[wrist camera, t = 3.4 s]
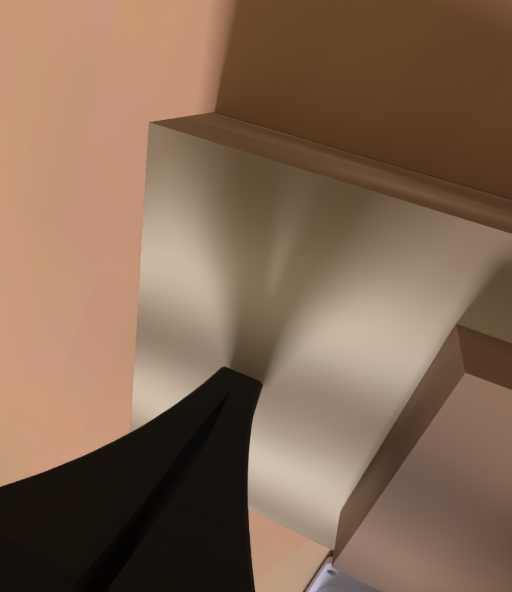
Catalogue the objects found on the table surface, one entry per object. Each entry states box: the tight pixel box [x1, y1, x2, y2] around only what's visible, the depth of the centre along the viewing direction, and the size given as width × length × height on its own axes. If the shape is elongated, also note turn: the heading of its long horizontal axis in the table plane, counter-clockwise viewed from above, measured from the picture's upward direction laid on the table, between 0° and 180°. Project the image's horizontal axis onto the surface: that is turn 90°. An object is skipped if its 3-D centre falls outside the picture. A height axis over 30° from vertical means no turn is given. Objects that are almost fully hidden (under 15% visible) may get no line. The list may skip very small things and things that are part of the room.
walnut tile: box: [331, 324, 512, 592], centre depth 11 cm, size 9×6×2 cm, turn 168°
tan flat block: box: [131, 112, 512, 550], centre depth 14 cm, size 14×20×4 cm
